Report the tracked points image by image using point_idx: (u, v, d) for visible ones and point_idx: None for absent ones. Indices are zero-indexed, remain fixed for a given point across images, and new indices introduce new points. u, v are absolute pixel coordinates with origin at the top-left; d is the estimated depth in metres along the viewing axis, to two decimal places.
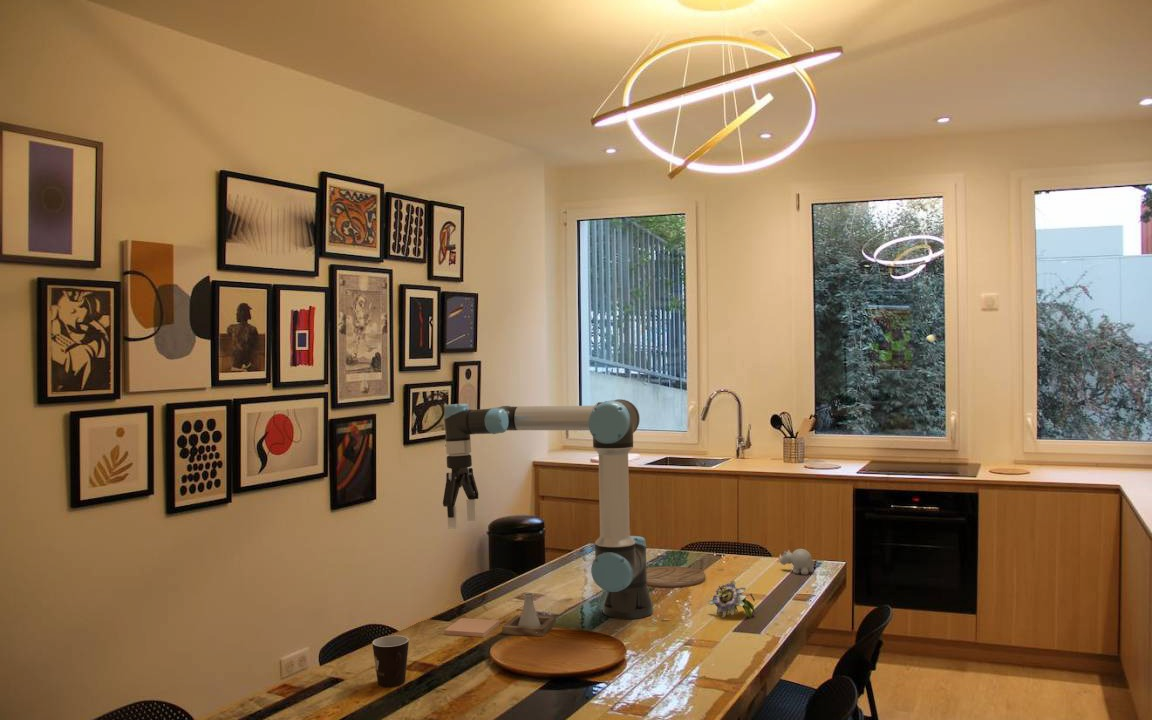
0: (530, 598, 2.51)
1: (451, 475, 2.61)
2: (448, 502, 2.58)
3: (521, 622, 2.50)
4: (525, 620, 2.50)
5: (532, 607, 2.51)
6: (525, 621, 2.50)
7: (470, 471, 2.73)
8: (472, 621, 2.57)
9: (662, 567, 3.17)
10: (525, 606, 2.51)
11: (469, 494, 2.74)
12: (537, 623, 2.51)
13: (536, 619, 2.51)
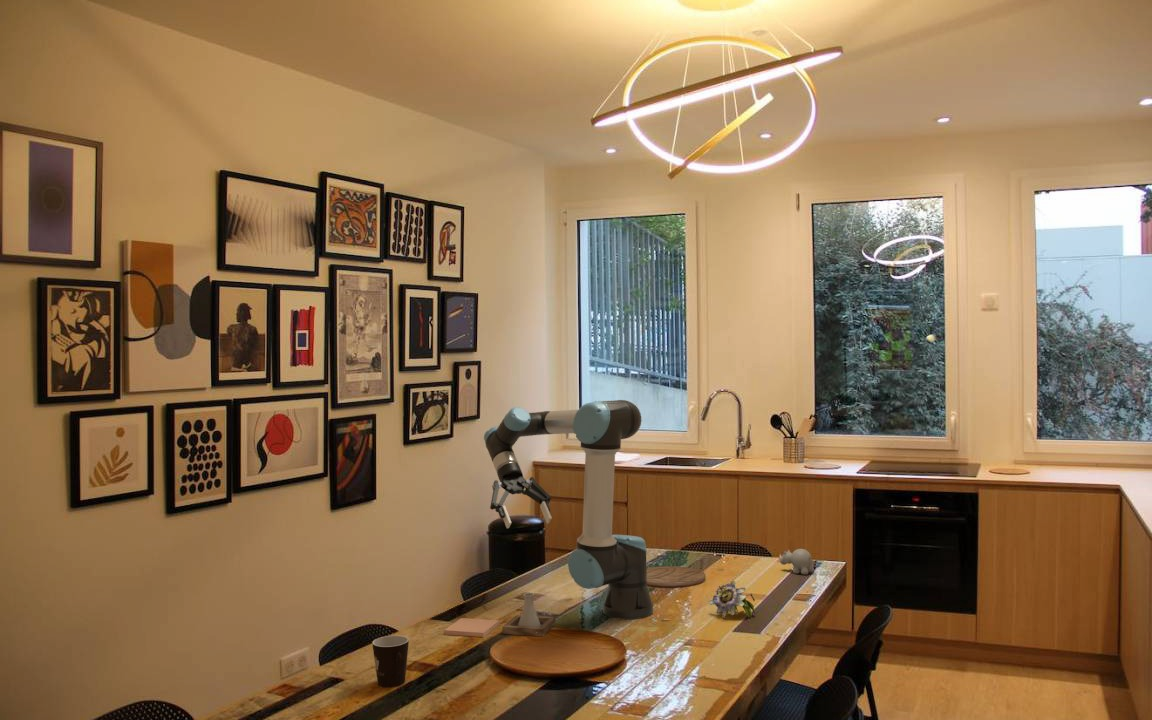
0: (530, 598, 2.51)
1: (494, 483, 2.74)
2: (491, 503, 2.68)
3: (521, 622, 2.50)
4: (525, 620, 2.50)
5: (532, 607, 2.51)
6: (525, 621, 2.50)
7: (530, 480, 2.80)
8: (472, 621, 2.57)
9: (662, 567, 3.17)
10: (525, 606, 2.51)
11: (538, 499, 2.76)
12: (537, 623, 2.51)
13: (536, 619, 2.51)
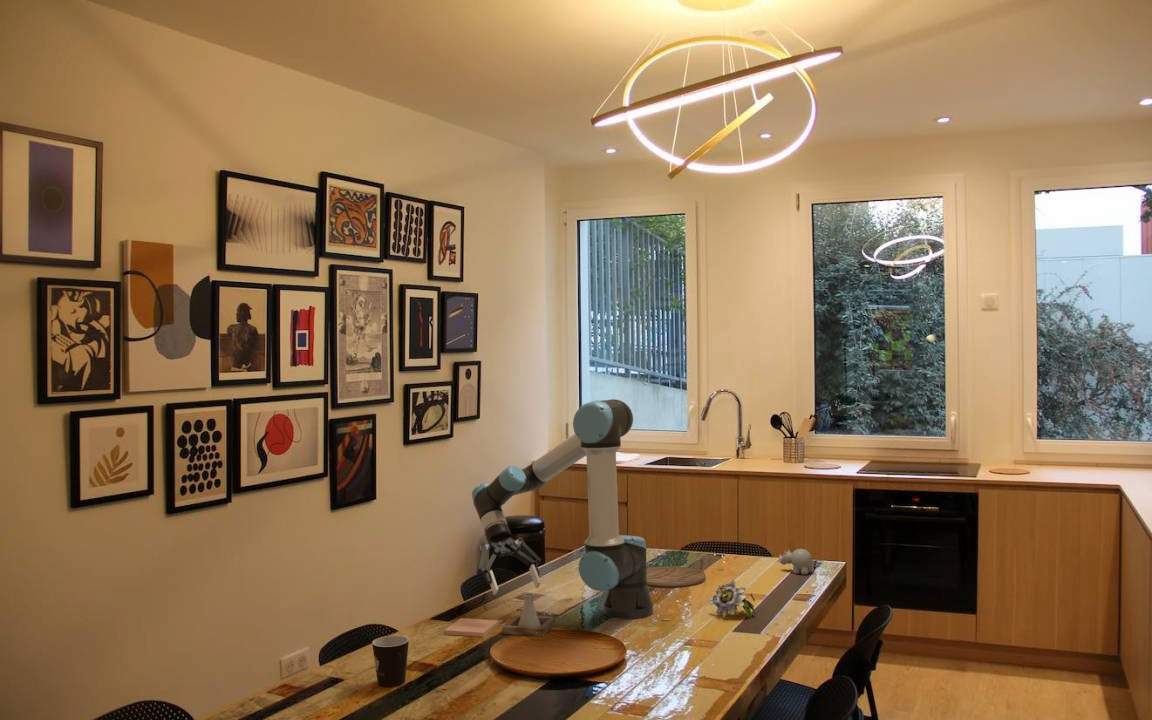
0: (530, 598, 2.51)
1: (481, 546, 2.63)
2: (478, 568, 2.57)
3: (521, 622, 2.50)
4: (525, 620, 2.50)
5: (532, 607, 2.51)
6: (525, 621, 2.50)
7: (519, 541, 2.69)
8: (472, 621, 2.57)
9: (662, 567, 3.17)
10: (525, 606, 2.51)
11: (527, 562, 2.65)
12: (537, 623, 2.51)
13: (536, 619, 2.51)
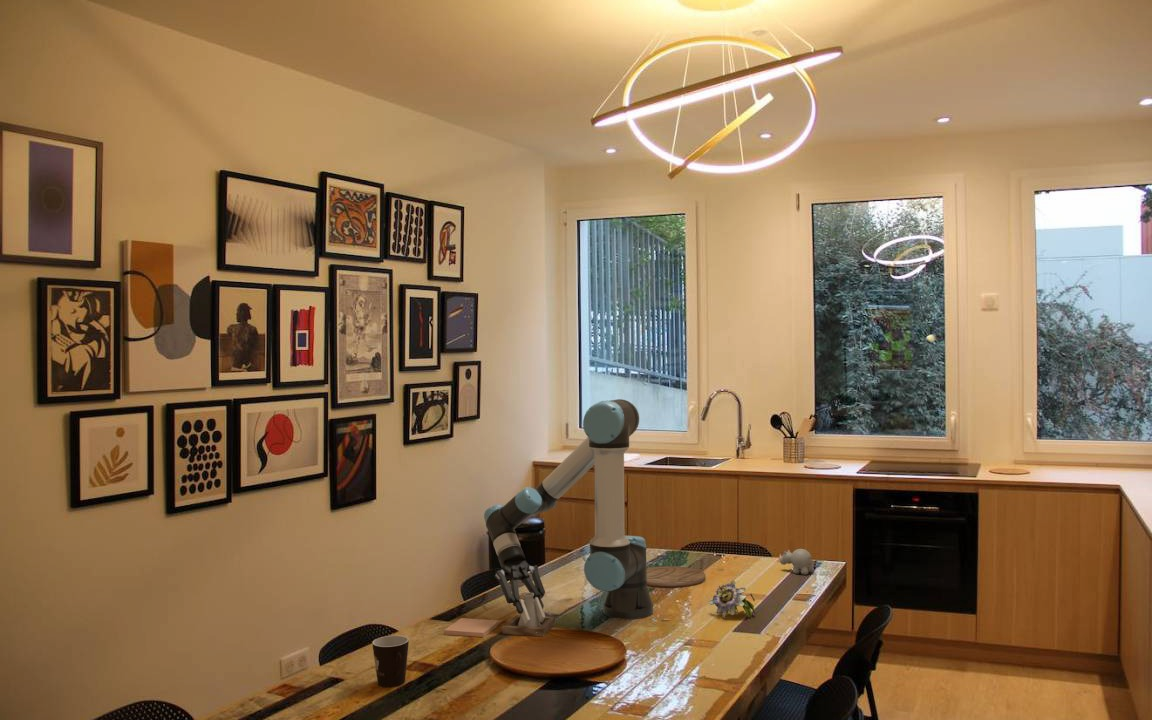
0: (530, 598, 2.51)
1: (497, 575, 2.55)
2: (508, 598, 2.50)
3: (521, 622, 2.50)
4: None
5: (532, 607, 2.51)
6: None
7: (534, 567, 2.61)
8: (472, 621, 2.57)
9: (662, 567, 3.17)
10: (525, 606, 2.51)
11: (532, 592, 2.55)
12: (537, 623, 2.51)
13: (536, 619, 2.51)
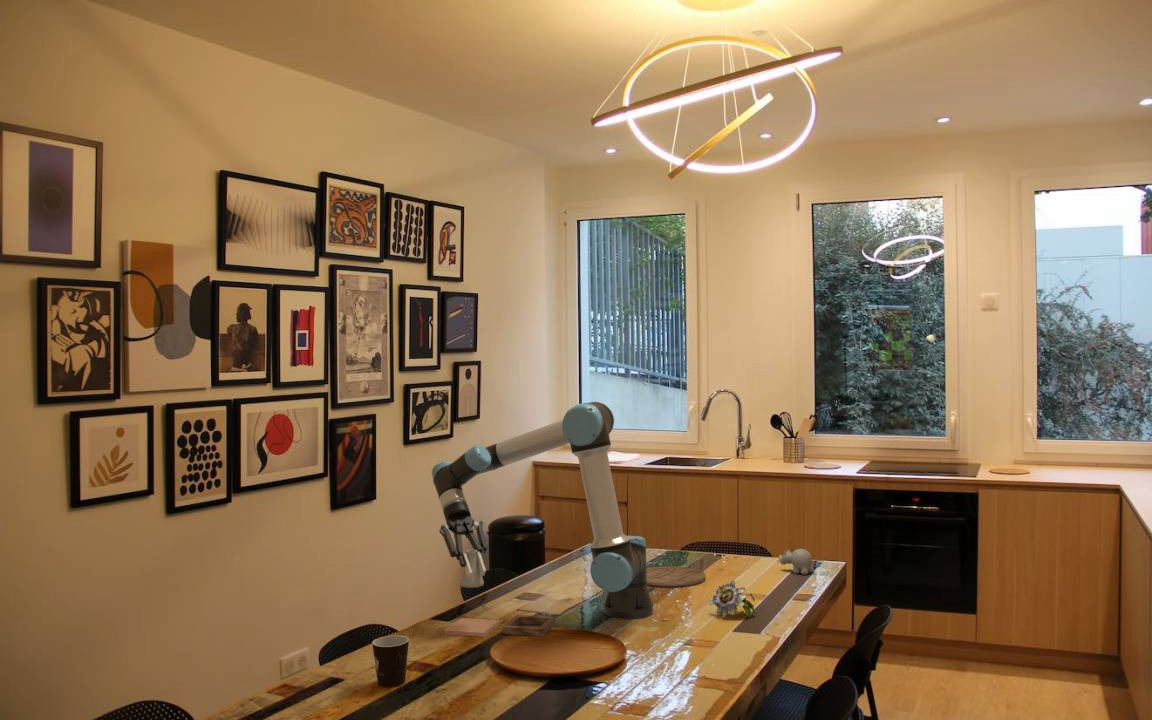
0: (473, 554, 2.52)
1: (441, 529, 2.56)
2: (452, 552, 2.51)
3: (463, 578, 2.51)
4: None
5: (474, 563, 2.52)
6: None
7: (479, 523, 2.62)
8: (472, 621, 2.57)
9: (662, 567, 3.17)
10: None
11: (475, 547, 2.56)
12: (479, 579, 2.51)
13: (478, 575, 2.52)
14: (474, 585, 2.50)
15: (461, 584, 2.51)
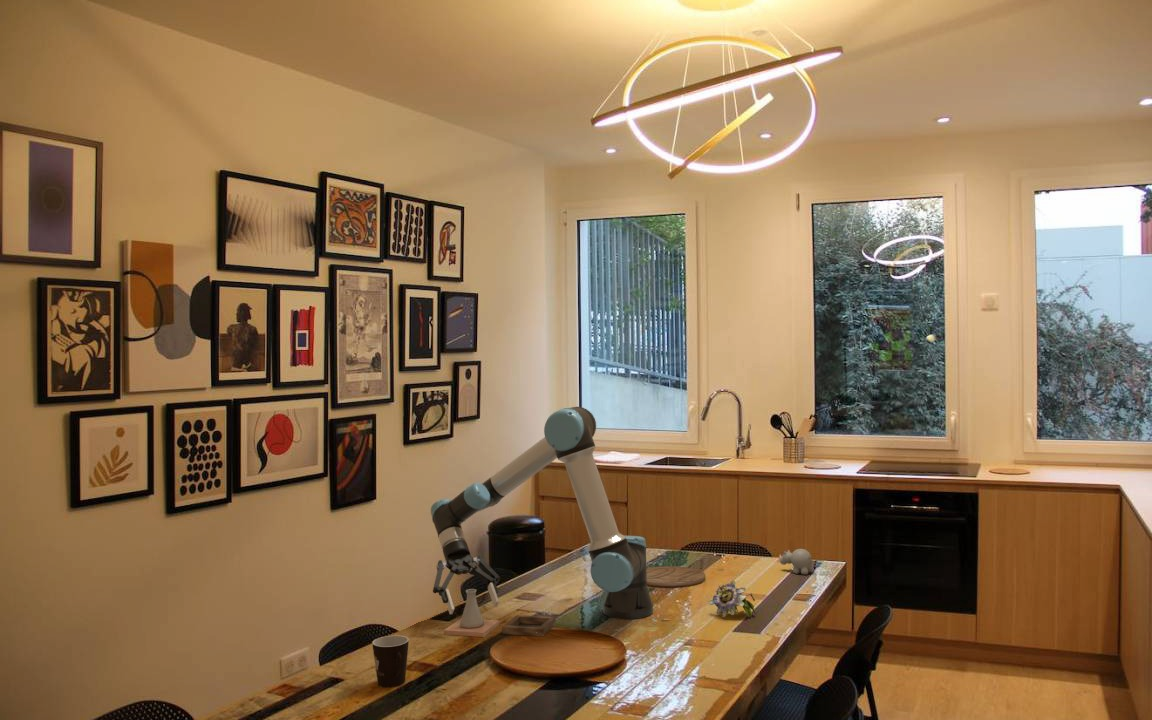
0: (472, 594, 2.52)
1: (438, 563, 2.57)
2: (434, 587, 2.51)
3: (463, 618, 2.51)
4: (467, 616, 2.51)
5: (474, 603, 2.52)
6: (467, 617, 2.51)
7: (478, 558, 2.62)
8: None
9: (662, 567, 3.17)
10: (467, 602, 2.52)
11: (485, 580, 2.59)
12: (479, 619, 2.51)
13: (478, 615, 2.52)
14: (474, 625, 2.50)
15: (461, 624, 2.51)
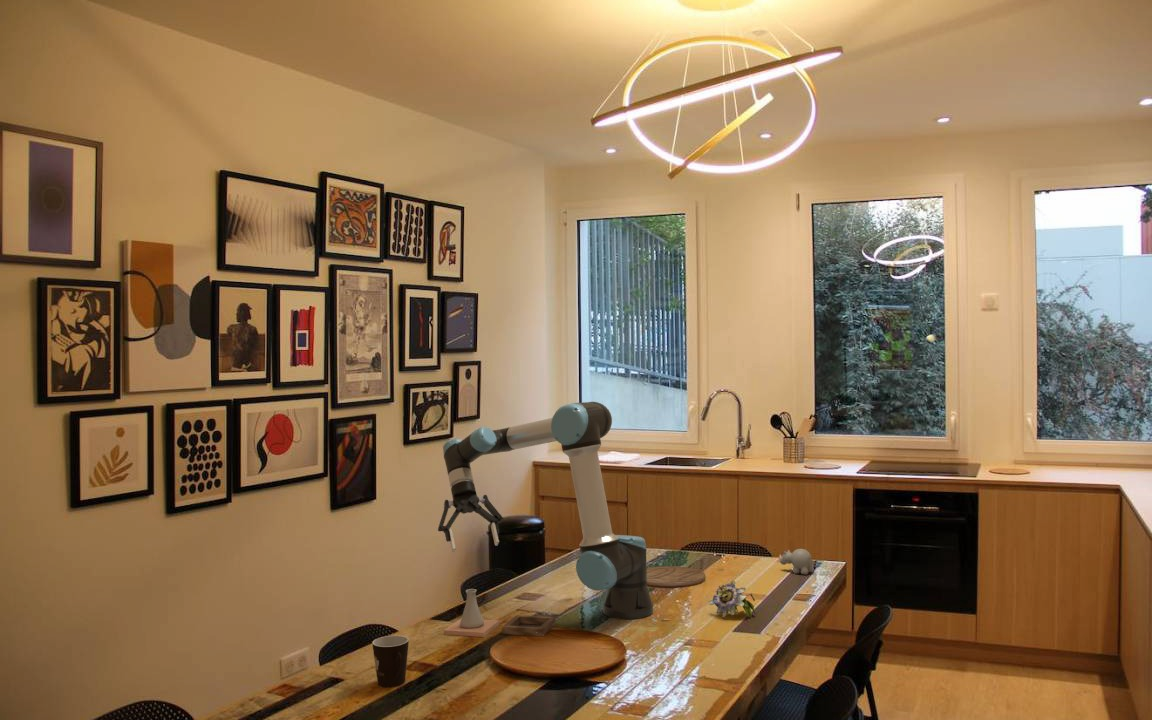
0: (472, 594, 2.52)
1: (444, 503, 2.75)
2: None
3: (463, 618, 2.51)
4: (467, 616, 2.51)
5: (474, 603, 2.52)
6: (467, 617, 2.51)
7: (483, 498, 2.78)
8: None
9: (662, 567, 3.17)
10: (467, 602, 2.52)
11: (489, 519, 2.76)
12: (479, 619, 2.51)
13: (478, 615, 2.52)
14: (474, 625, 2.50)
15: (461, 624, 2.51)
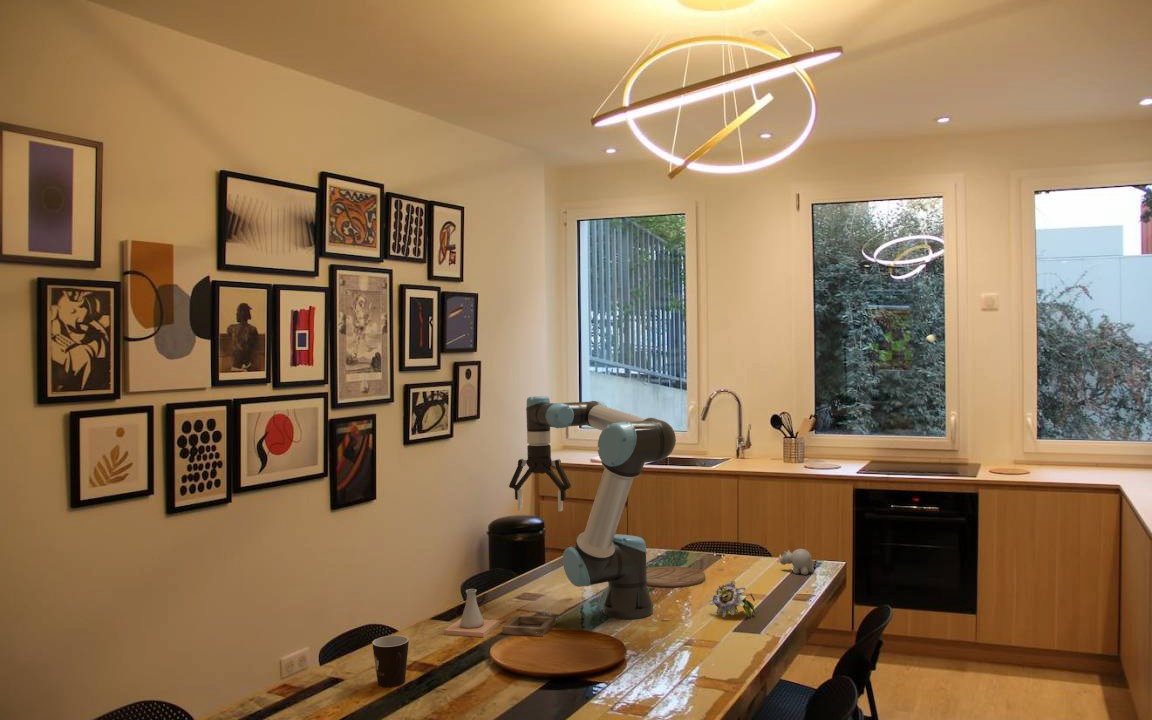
0: (472, 594, 2.52)
1: None
2: None
3: (463, 618, 2.51)
4: (467, 616, 2.51)
5: (474, 603, 2.52)
6: (467, 617, 2.51)
7: (555, 463, 2.80)
8: None
9: (662, 567, 3.17)
10: (467, 602, 2.52)
11: None
12: (479, 619, 2.51)
13: (478, 615, 2.52)
14: (474, 625, 2.50)
15: (461, 624, 2.51)
